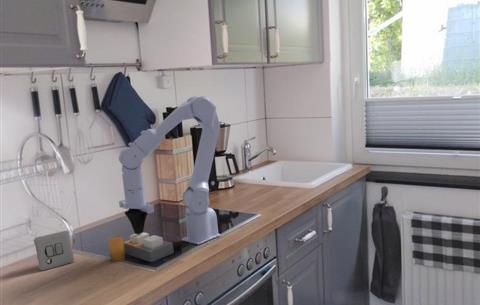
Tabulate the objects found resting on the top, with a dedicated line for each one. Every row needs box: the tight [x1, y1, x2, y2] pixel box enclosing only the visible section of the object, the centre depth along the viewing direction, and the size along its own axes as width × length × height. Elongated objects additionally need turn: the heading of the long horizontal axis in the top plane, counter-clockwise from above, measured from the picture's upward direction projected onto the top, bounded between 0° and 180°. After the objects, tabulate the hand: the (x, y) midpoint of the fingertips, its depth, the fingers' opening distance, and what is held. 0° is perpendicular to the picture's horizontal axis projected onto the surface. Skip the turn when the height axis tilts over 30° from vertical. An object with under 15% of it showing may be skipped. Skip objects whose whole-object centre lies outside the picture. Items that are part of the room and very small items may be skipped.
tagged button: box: [129, 231, 150, 245], centre depth 135 cm, size 4×4×3 cm
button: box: [143, 235, 164, 249], centre depth 130 cm, size 4×4×3 cm
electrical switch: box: [33, 230, 75, 271], centre depth 130 cm, size 9×5×9 cm, turn 124°
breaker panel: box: [123, 239, 175, 263], centre depth 133 cm, size 8×14×3 cm, turn 48°
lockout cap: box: [108, 235, 126, 263], centre depth 130 cm, size 4×4×6 cm
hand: (139, 233), depth 134 cm, fingers closed
